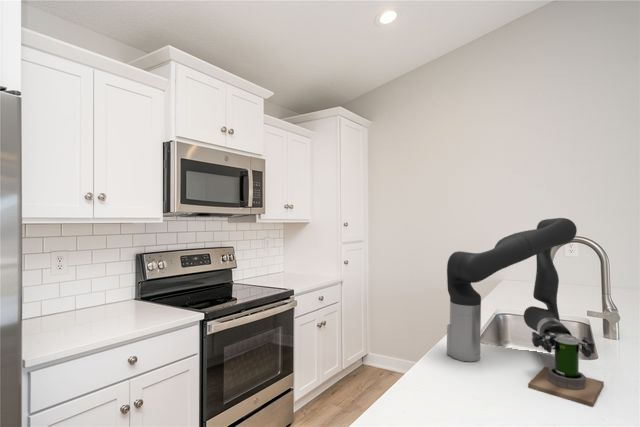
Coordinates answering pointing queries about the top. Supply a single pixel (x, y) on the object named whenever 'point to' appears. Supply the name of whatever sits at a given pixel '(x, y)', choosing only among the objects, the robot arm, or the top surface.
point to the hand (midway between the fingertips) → (568, 351)
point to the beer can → (566, 356)
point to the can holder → (567, 386)
